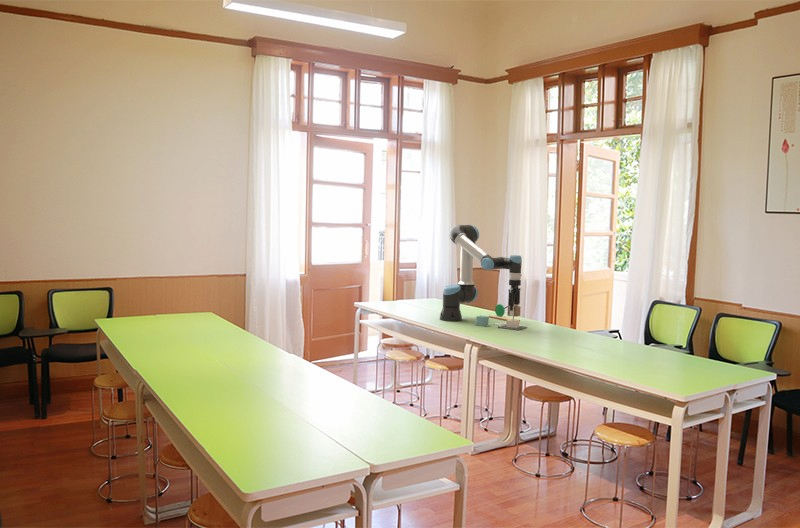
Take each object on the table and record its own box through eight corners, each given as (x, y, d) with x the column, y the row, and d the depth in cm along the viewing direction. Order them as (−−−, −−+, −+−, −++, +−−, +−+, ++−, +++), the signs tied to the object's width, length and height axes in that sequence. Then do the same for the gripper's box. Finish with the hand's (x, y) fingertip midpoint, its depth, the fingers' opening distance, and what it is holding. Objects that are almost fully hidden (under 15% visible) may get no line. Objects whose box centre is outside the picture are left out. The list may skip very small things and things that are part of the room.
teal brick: (476, 325, 432) (476, 316, 432) (480, 324, 437) (480, 315, 437) (484, 326, 429) (484, 317, 428) (488, 325, 434) (488, 316, 434)
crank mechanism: (520, 322, 451) (522, 294, 449) (514, 322, 447) (515, 294, 445) (494, 316, 471) (495, 289, 469) (488, 317, 467) (489, 290, 465)
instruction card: (493, 324, 438) (493, 323, 438) (498, 323, 444) (498, 322, 444) (507, 326, 432) (507, 325, 432) (511, 324, 438) (511, 324, 438)
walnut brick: (507, 315, 426) (507, 306, 426) (511, 314, 431) (511, 305, 430) (516, 316, 423) (517, 307, 422) (520, 315, 427) (520, 306, 427)
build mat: (498, 327, 426) (498, 320, 425) (507, 324, 437) (507, 318, 437) (518, 330, 418) (518, 323, 418) (527, 327, 430) (527, 320, 429)
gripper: (514, 280, 415) (513, 317, 417) (526, 278, 431) (524, 314, 432) (503, 279, 419) (502, 316, 421) (515, 277, 435) (514, 312, 437)
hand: (513, 314), depth 427 cm, fingers closed on walnut brick, 5 cm apart
